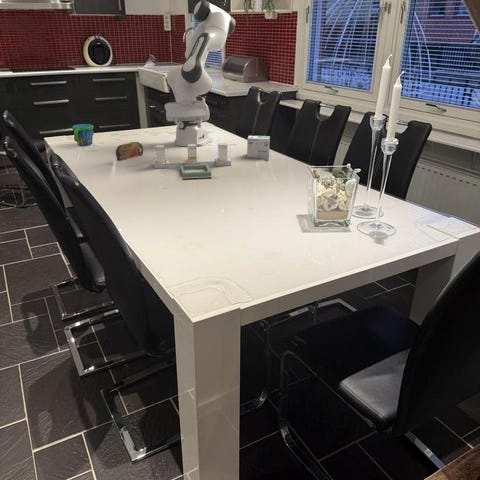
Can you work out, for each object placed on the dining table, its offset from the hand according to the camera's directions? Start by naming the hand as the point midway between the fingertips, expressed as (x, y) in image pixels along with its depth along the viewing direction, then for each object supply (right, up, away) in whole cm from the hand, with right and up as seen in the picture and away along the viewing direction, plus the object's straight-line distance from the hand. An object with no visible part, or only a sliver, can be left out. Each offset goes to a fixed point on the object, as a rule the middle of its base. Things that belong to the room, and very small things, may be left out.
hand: (189, 127), depth 215 cm
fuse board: (+2, -20, -4) cm, 20 cm away
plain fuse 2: (+16, -17, -2) cm, 23 cm away
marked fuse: (+2, -18, -5) cm, 19 cm away
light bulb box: (+32, -13, +13) cm, 37 cm away
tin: (-29, -14, +7) cm, 33 cm away
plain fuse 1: (-12, -19, -7) cm, 24 cm away
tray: (+4, -24, -15) cm, 29 cm away
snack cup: (-60, -1, +35) cm, 70 cm away
